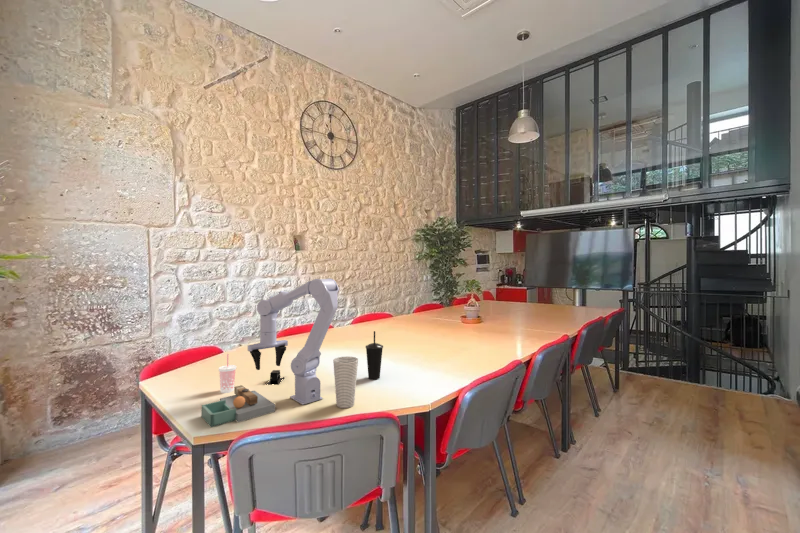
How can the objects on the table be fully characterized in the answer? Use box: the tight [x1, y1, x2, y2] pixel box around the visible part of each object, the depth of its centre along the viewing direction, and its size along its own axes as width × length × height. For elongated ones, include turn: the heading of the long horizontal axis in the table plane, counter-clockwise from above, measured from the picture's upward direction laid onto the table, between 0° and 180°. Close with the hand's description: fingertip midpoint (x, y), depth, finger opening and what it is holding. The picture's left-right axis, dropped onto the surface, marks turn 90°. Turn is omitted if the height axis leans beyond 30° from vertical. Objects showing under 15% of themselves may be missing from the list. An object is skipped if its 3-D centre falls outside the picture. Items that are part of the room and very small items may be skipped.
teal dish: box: [200, 400, 236, 428], centre depth 106 cm, size 10×7×4 cm
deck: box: [219, 390, 276, 423], centre depth 114 cm, size 18×12×2 cm, turn 44°
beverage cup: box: [218, 353, 237, 394], centre depth 130 cm, size 6×6×14 cm
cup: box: [333, 356, 359, 409], centre depth 117 cm, size 8×8×16 cm
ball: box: [233, 396, 245, 408], centre depth 109 cm, size 4×4×4 cm
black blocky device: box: [265, 369, 284, 386], centre depth 142 cm, size 12×7×5 cm, turn 4°
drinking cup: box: [365, 331, 384, 381], centre depth 147 cm, size 8×8×20 cm
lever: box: [233, 384, 258, 405], centre depth 115 cm, size 14×2×3 cm, turn 44°
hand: (268, 367), depth 129 cm, fingers open, 7 cm apart
